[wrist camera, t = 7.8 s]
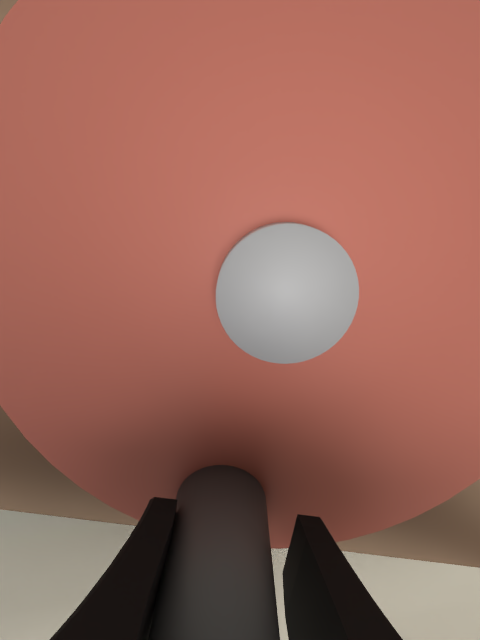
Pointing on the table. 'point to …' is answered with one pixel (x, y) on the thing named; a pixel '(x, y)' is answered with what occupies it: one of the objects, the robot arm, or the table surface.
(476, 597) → the table surface
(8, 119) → the handwheel
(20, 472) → the walnut board
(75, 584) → the table surface
